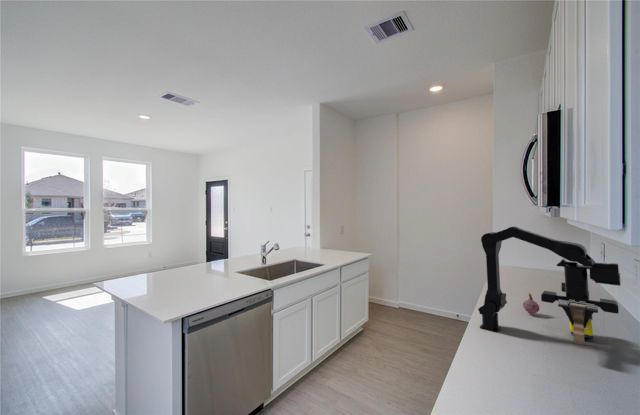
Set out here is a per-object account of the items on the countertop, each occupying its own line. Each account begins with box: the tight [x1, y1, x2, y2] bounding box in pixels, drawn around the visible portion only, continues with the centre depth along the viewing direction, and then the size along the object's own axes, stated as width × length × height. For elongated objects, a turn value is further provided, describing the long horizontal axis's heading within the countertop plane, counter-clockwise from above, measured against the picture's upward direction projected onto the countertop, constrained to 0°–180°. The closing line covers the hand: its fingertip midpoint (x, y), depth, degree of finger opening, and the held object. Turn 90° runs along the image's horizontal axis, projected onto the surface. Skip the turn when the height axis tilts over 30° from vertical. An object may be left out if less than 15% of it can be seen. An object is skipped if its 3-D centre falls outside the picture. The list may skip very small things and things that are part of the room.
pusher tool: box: [565, 304, 593, 346], centre depth 93 cm, size 21×7×4 cm, turn 136°
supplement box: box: [568, 303, 594, 339], centre depth 102 cm, size 6×6×11 cm
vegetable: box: [522, 292, 540, 315], centre depth 125 cm, size 6×6×10 cm
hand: (578, 326), depth 92 cm, fingers closed on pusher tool, 2 cm apart
